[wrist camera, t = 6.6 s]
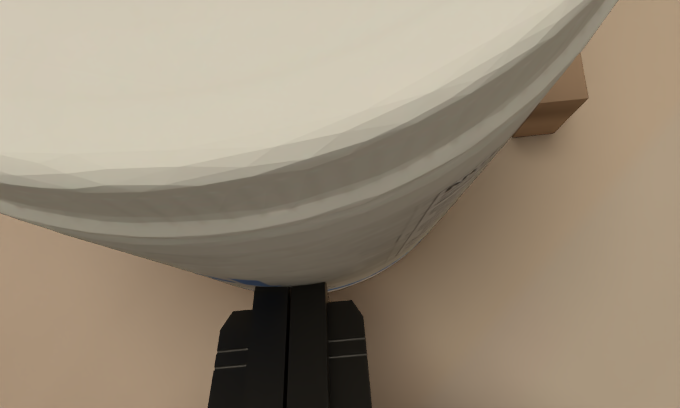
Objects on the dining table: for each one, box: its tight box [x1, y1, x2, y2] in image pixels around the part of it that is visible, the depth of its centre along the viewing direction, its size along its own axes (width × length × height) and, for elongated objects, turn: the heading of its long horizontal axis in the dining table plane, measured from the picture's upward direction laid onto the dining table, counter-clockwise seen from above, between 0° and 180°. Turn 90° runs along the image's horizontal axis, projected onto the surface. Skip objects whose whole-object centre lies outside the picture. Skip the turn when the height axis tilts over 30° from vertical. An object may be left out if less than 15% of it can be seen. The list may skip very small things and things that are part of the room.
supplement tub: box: [0, 0, 618, 292], centre depth 12 cm, size 10×10×15 cm
